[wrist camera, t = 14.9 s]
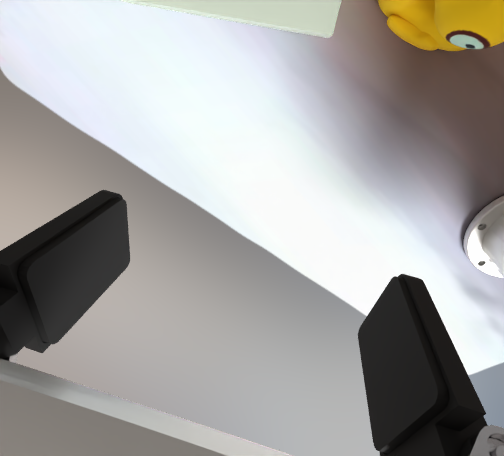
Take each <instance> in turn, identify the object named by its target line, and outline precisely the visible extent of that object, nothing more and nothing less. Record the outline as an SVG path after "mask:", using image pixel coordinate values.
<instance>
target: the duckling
mask: <svg viewBox="0 0 504 456" xmlns="http://www.w3.org/2000/svg"><path fill="white" fill-rule="evenodd" d="M378 3H379V6H380V9H381V10H382V12H383V13H384V14H385V15H386V16H387V17H388V19H387V25H388V27H389V28H390V29H391V30H392V31H393V32H394V33H395V34H396V35H397V36H399V37H400V38H401V39H403V40H404V41H406V42H408V43H410V44H412V45H414V46H416V47H418V48H420V49H423V50H436V49H442V50H446V51H461V50H465V49H483V48H488V47H492V46H495V45H497V44H500V43H502V42H504V0H378Z"/></svg>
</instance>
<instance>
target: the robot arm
mask: <svg viewBox="0 0 504 456" xmlns="http://www.w3.org/2000/svg"><path fill="white" fill-rule="evenodd" d="M464 250H465V253H466V256H467V257H468V258H469V260H470V261H471V263H472V264H473V265H474V266H475V267H476V268H478V269H479V270H481V271H482V272H484V273H486V274H489V275H492V276H496V277H500V278H504V196H502V197H500V198H498V199H496V200H494V201H493V202H492V203H490V204H489V205H487V206H486V207H485V208H484V209H483V210H481V211H480V212H479V213H478V214H477V215H476V216H475V218H474V219H473V220H472V222H471V223H470V224H469V226H468V228H467V230H466V233H465V237H464ZM129 262H130V251H129V235H128V221H127V204H126V201H125V200H123V198H122V196H121V195H120V194H117V193H113V192H110V191H106V190H102V191H99V192H98V193H96V194H94V195H93V196H91V197H89V198H88V199H86V200H84V201H83V202H81V203H79V204H78V205H76V206H75V207H73V208H71V209H69V210H68V211H66V212H64V213H63V214H61V215H60V216H58V217H56V218H54V219H53V220H51V221H49V222H48V223H46V224H44V225H43V226H41V227H39V228H38V229H36V230H35V231H33V232H31V233H29V234H28V235H26V236H24V237H23V238H21V239H19V240H18V241H17V242H14V243H13V244H11V245H10V246H8V247H6V248H5V249H3V250H1V251H0V456H292V455H290V454H287V453H284V452H281V451H278V450H275V449H272V448H269V447H266V446H264V445H261V444H258V443H255V442H252V441H249V440H246V439H243V438H240V437H237V436H234V435H231V434H228V433H225V432H222V431H219V430H216V429H213V428H210V427H207V426H204V425H201V424H198V423H195V422H192V421H189V420H186V419H183V418H180V417H177V416H174V415H171V414H168V413H165V412H162V411H159V410H156V409H153V408H150V407H147V406H144V405H141V404H138V403H135V402H132V401H129V400H126V399H124V398H120V397H117V396H114V395H111V394H108V393H105V392H102V391H99V390H96V389H93V388H90V387H87V386H84V385H81V384H78V383H75V382H72V381H69V380H66V379H63V378H60V377H56V376H54V375H51V374H47V373H44V372H41V371H38V370H35V369H32V368H29V367H26V366H23V365H20V364H16V362H17V354H18V352H19V351H20V350H21V349H22V348H23V347H24V346H25V347H26V348H28V349H31V350H34V351H37V352H40V353H43V352H44V351H45V350H46V349H47V348H48V347H49V346H50V345H51V344H55V343H57V342H58V341H59V340H60V339H61V338H62V337H63V336H64V335H65V334H66V333H67V332H68V331H69V330H70V329H71V328H72V326H73V325H74V324H75V323H76V322H77V321H78V320H79V319H80V318H81V317H82V316H83V314H84V313H85V312H86V311H87V310H88V309H89V308H90V307H91V306H92V305H93V304H94V302H95V301H96V300H97V299H98V298H99V297H100V296H101V295H102V294H103V293H104V292H105V291H106V290H107V288H108V287H109V286H110V285H111V284H112V283H113V282H114V281H115V280H116V279H117V278H118V276H119V275H120V274H121V273H122V272H123V271H124V270H125V269H126V268H127V266H128V264H129ZM358 339H359V347H360V354H361V360H362V368H363V375H364V381H365V388H366V395H367V402H368V409H369V416H370V423H371V430H372V437H373V443H374V446H375V448H376V450H378V451H380V456H504V428H502V427H498V426H494V425H490V426H488V425H487V423H486V421H485V419H484V417H483V416H484V415H485V414H486V412H485V411H484V408H483V406H482V404H481V402H480V400H479V398H478V396H477V393H476V391H475V389H474V387H473V385H472V383H471V381H470V379H469V377H468V374H467V372H466V370H465V368H464V366H463V364H462V362H461V360H460V358H459V355H458V353H457V351H456V349H455V347H454V345H453V343H452V341H451V339H450V337H449V334H448V332H447V330H446V328H445V326H444V324H443V322H442V320H441V318H440V315H439V313H438V311H437V309H436V307H435V305H434V303H433V301H432V299H431V296H430V294H429V292H428V290H427V288H426V286H425V284H424V282H423V280H421V279H419V278H416V277H412V276H408V275H405V274H401V275H399V276H398V277H393V278H392V279H391V281H390V282H389V284H388V285H387V287H386V288H385V290H384V291H383V293H382V294H381V296H380V297H379V299H378V300H377V302H376V304H375V305H374V307H373V308H372V310H371V311H370V313H369V314H368V316H367V317H366V319H365V321H364V322H363V323H362V325H361V327H360V329H359V333H358Z"/></svg>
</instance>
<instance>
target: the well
mask: <svg viewBox="0 0 504 456" xmlns="http://www.w3.org/2000/svg"><path fill="white" fill-rule="evenodd" d="M121 1H124V2H127V3H132V4H137V5H143V6H149V7H154V8H160V9H165V10H171V11H177V12H182V13H188V14H194V15H199V16H205V17H210V18H216V19H222V20H227V21H233V22H239V23H244V24H250V25H256V26H261V27H267V28H272V29H278V30H284V31H289V32H295V33H301V34H306V35H312V36H317V37H323V38H330V37H331V36H332V35H333V32H334V28H335V24H336V20H337V16H338V12H339V8H340V5H341V1H342V0H121Z"/></svg>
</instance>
